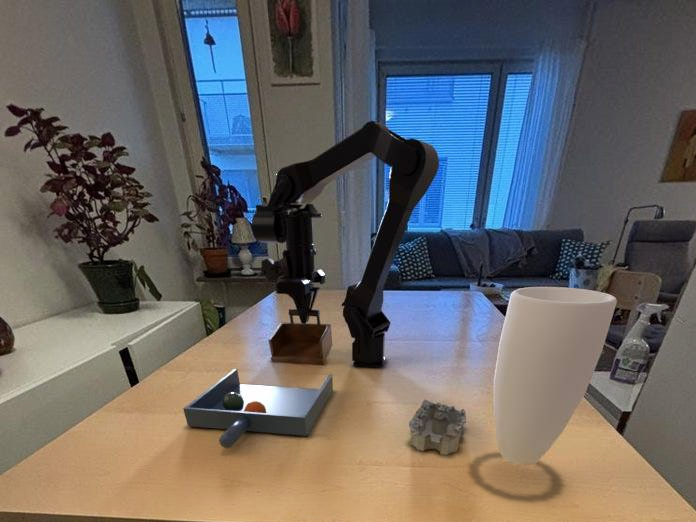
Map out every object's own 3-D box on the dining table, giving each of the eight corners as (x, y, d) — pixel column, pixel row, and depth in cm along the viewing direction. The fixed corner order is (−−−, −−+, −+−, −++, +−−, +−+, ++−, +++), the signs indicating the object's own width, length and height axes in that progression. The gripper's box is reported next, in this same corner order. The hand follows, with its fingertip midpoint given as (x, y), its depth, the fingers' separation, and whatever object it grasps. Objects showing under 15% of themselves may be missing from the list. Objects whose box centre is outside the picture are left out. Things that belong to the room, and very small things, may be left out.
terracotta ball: (267, 397, 62) (259, 410, 60) (271, 415, 64) (264, 427, 62) (246, 396, 62) (238, 408, 60) (251, 413, 65) (243, 426, 62)
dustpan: (237, 385, 77) (234, 368, 75) (333, 391, 75) (332, 374, 73) (162, 449, 56) (156, 429, 54) (292, 461, 54) (290, 440, 52)
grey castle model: (455, 458, 55) (459, 432, 52) (403, 448, 57) (405, 423, 54) (467, 426, 63) (471, 402, 60) (421, 418, 65) (423, 395, 63)
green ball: (248, 407, 67) (244, 389, 65) (241, 417, 65) (236, 399, 63) (230, 405, 68) (225, 387, 66) (221, 416, 65) (216, 397, 63)
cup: (466, 453, 56) (496, 285, 43) (540, 455, 55) (592, 286, 43) (482, 498, 47) (526, 303, 35) (570, 500, 47) (646, 305, 34)
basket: (332, 344, 95) (330, 309, 89) (323, 364, 87) (319, 328, 82) (285, 341, 96) (279, 307, 91) (271, 361, 89) (264, 326, 83)
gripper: (277, 241, 91) (283, 313, 100) (245, 245, 76) (256, 330, 84) (324, 242, 90) (326, 315, 98) (301, 247, 74) (307, 332, 83)
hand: (304, 322), depth 91 cm, fingers closed
